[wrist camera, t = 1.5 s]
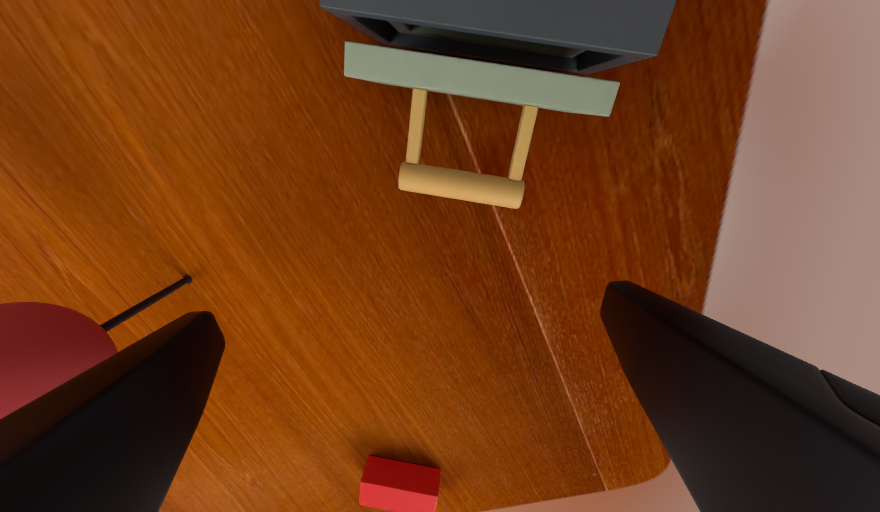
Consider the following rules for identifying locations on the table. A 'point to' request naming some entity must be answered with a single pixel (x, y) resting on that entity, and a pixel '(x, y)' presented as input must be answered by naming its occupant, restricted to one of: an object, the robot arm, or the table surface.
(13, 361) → the lollipop
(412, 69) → the drawer
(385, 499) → the red rectangular block
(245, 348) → the table surface
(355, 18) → the cabinet
